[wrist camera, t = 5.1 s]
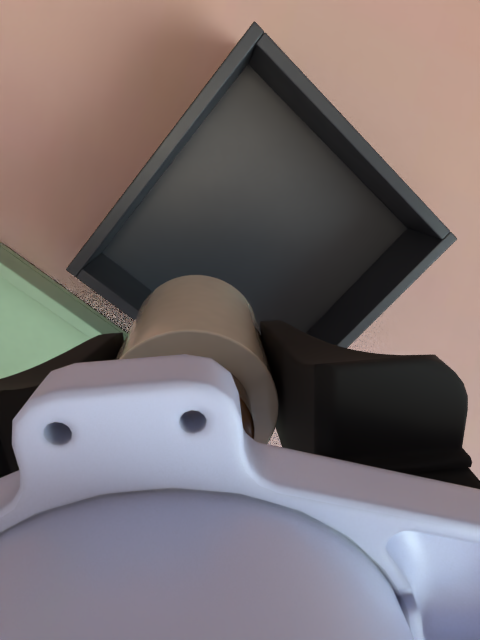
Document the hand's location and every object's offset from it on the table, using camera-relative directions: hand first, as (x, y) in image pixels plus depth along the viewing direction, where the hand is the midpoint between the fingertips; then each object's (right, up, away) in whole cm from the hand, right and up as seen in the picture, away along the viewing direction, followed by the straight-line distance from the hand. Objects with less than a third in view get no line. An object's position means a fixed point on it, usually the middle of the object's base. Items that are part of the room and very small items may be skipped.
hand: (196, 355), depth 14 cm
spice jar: (0, +1, +2) cm, 2 cm away
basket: (+2, +5, +8) cm, 10 cm away
